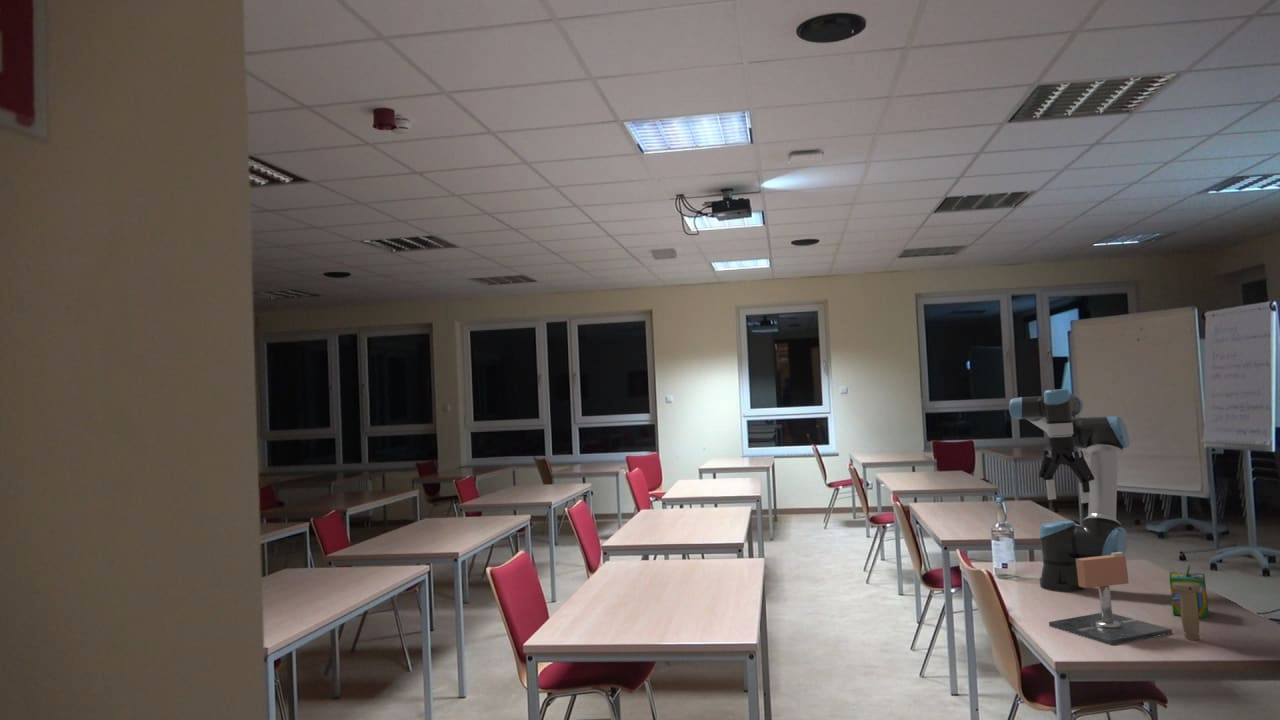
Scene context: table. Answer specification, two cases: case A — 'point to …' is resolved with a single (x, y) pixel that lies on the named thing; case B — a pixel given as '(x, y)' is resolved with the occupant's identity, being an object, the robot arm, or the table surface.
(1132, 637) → the post stand
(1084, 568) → the pink plank with tab
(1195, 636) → the handle
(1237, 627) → the table surface
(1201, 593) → the chalk box
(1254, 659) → the table surface
